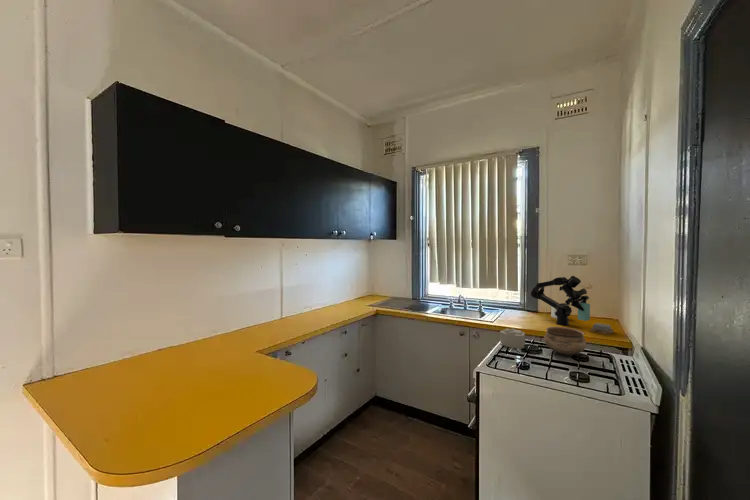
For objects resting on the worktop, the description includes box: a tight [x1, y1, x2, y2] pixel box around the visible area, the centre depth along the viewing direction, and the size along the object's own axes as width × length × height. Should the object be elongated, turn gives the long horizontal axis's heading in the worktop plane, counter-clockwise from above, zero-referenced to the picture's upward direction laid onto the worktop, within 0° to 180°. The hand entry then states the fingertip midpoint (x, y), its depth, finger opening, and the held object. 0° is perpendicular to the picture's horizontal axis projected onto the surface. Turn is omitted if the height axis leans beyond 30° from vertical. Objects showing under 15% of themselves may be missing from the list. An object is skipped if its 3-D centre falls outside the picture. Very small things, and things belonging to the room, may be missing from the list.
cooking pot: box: [543, 326, 587, 357], centre depth 165 cm, size 25×19×12 cm
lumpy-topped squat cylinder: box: [499, 328, 526, 349], centre depth 180 cm, size 10×13×9 cm
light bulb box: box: [550, 306, 557, 320], centre depth 244 cm, size 11×7×11 cm, turn 179°
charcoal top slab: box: [592, 322, 612, 331], centre depth 207 cm, size 8×8×2 cm
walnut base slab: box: [590, 327, 614, 335], centre depth 206 cm, size 10×10×2 cm
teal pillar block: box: [577, 302, 591, 322], centre depth 211 cm, size 5×5×11 cm
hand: (586, 310), depth 210 cm, fingers closed on teal pillar block, 5 cm apart
